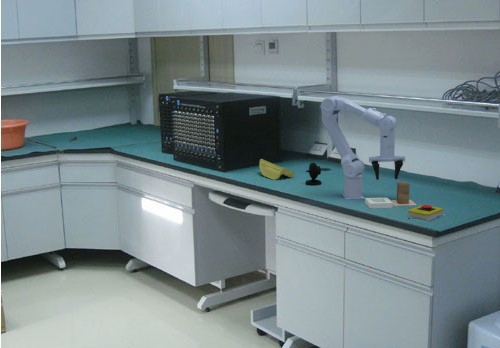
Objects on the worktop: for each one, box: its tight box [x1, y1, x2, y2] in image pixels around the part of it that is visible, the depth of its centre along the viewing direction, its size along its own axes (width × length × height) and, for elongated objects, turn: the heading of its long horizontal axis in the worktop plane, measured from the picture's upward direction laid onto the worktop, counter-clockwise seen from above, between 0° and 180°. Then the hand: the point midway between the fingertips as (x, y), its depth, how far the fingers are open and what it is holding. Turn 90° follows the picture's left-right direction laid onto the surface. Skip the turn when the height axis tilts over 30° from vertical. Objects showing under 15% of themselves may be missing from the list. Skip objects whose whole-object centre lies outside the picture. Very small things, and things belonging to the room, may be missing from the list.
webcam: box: [305, 162, 323, 186], centre depth 315 cm, size 8×8×10 cm
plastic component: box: [258, 158, 295, 181], centre depth 335 cm, size 20×7×10 cm
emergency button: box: [407, 204, 446, 222], centre depth 257 cm, size 9×4×15 cm
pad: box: [389, 199, 417, 207], centre depth 276 cm, size 9×9×1 cm
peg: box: [396, 181, 410, 204], centre depth 275 cm, size 4×4×8 cm
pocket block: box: [364, 197, 394, 209], centre depth 273 cm, size 9×9×2 cm
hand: (386, 179), depth 279 cm, fingers open, 7 cm apart
